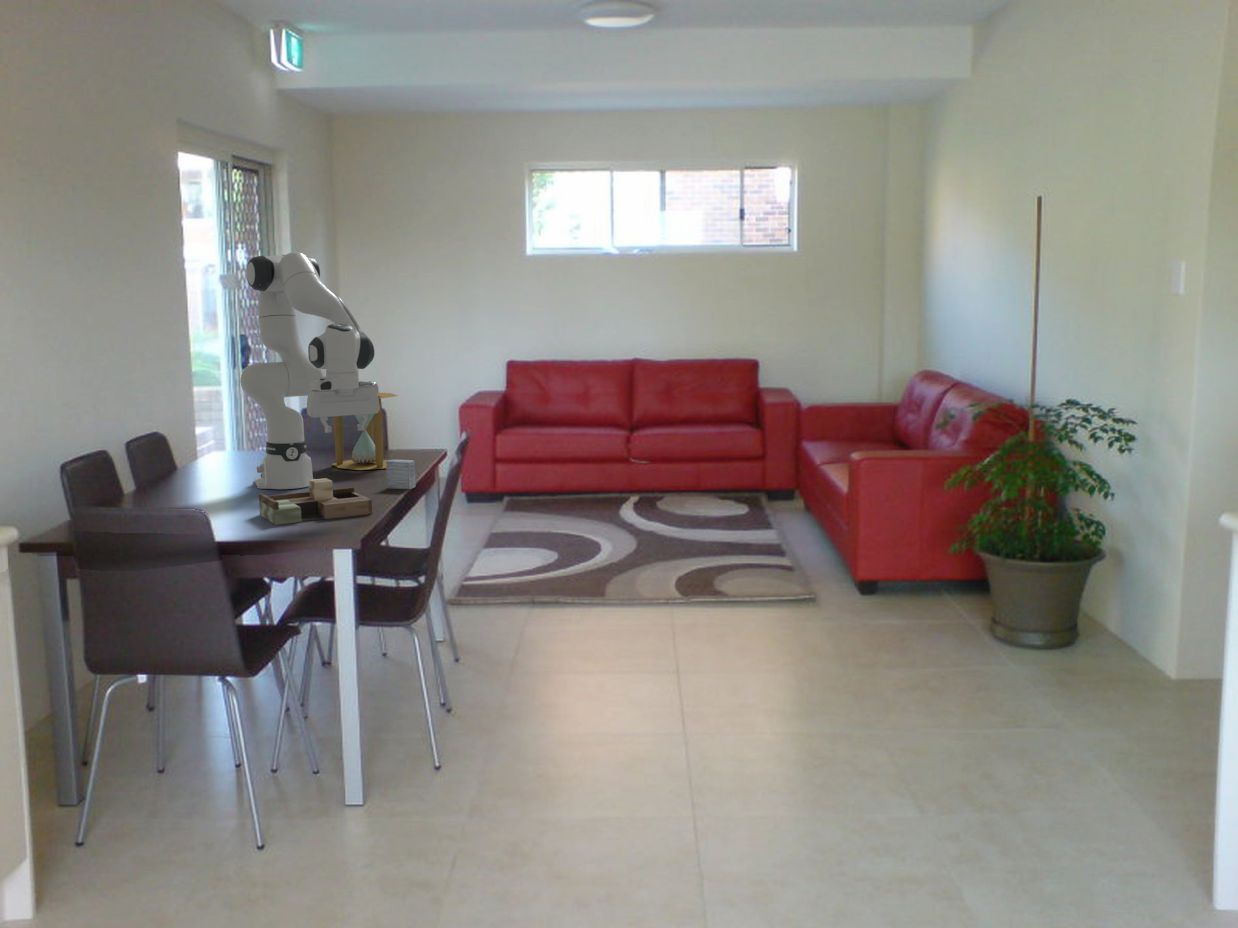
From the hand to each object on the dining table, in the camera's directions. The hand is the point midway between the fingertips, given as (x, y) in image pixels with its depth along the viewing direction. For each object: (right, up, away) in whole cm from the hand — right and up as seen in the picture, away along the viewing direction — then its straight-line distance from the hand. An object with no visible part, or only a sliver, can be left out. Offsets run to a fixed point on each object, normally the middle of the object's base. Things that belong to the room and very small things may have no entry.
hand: (344, 431), depth 334 cm
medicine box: (+9, -17, +36) cm, 41 cm away
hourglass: (-11, -10, +79) cm, 80 cm away
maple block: (-6, -19, -1) cm, 20 cm away
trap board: (-7, -23, -4) cm, 25 cm away
